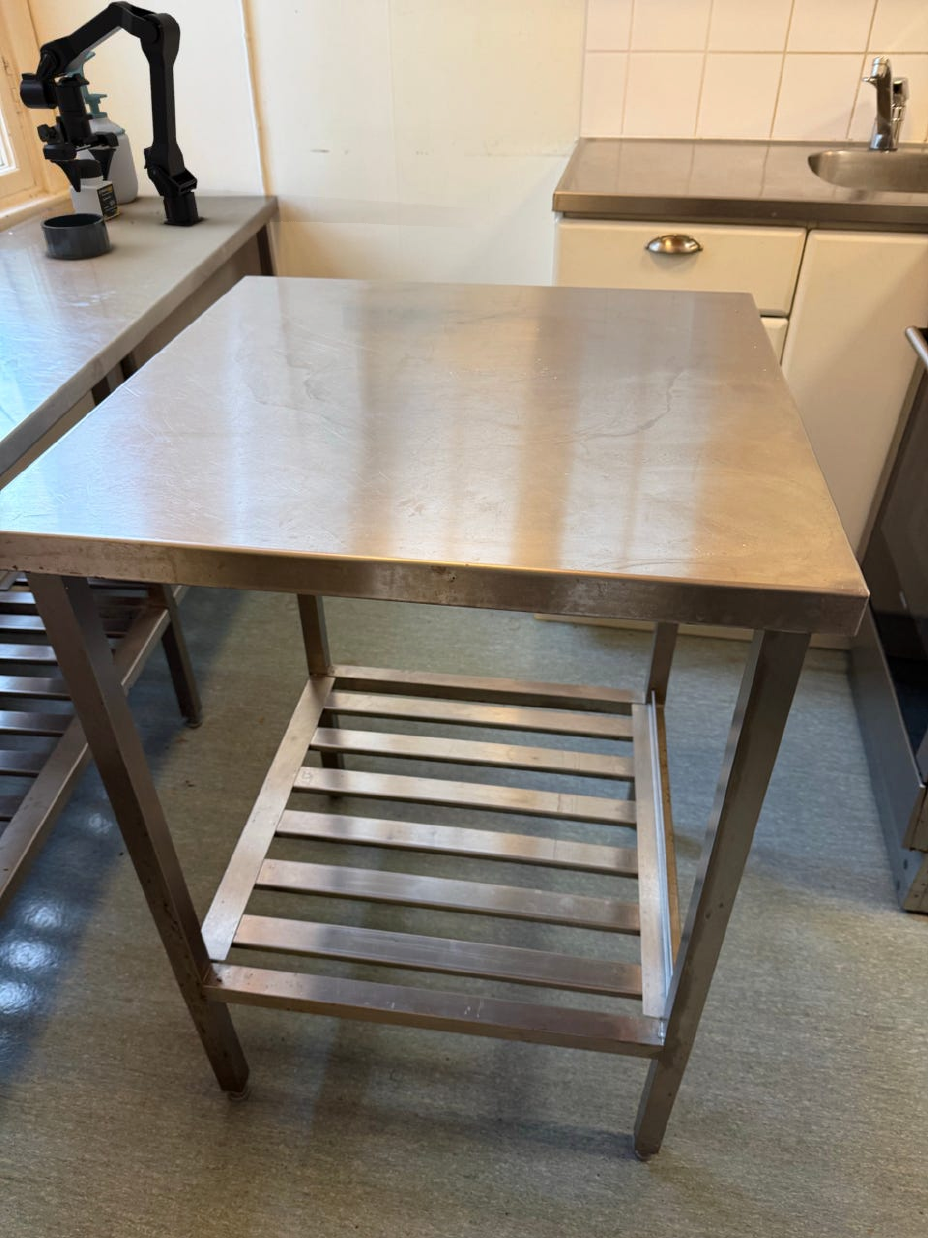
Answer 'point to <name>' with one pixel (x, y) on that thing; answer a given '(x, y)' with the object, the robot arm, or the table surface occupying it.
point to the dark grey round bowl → (76, 236)
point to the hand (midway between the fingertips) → (91, 187)
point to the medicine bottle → (94, 192)
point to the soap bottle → (122, 160)
